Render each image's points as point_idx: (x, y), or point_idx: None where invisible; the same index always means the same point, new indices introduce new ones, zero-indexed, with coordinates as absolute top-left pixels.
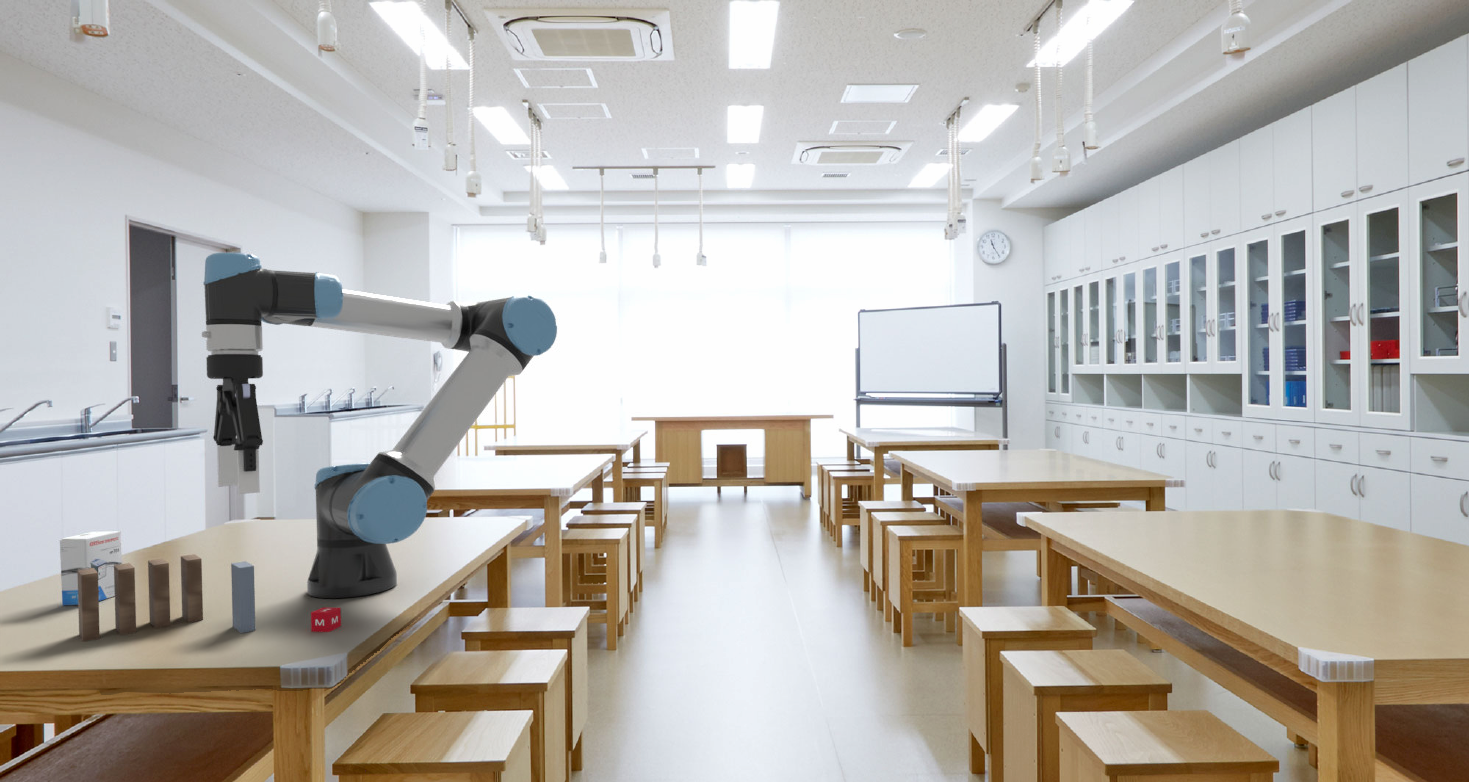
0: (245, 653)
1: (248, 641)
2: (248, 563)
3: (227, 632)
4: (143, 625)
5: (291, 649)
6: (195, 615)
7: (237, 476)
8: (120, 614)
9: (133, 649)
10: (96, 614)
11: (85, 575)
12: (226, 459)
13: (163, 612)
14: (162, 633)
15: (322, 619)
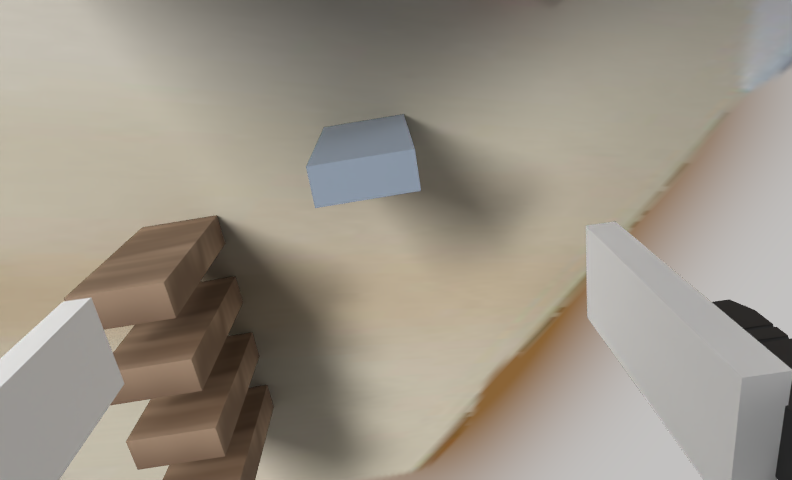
0: (594, 147)
1: (498, 135)
2: (356, 161)
3: None
4: None
5: (640, 56)
6: (217, 234)
7: (63, 328)
8: (249, 380)
9: (401, 330)
10: (258, 421)
11: None
12: (18, 469)
13: (231, 303)
14: (300, 288)
15: None
